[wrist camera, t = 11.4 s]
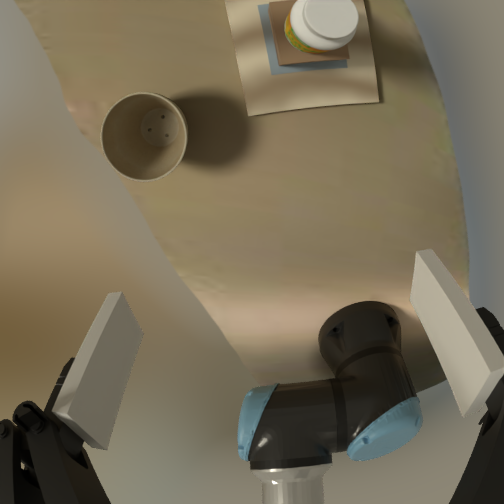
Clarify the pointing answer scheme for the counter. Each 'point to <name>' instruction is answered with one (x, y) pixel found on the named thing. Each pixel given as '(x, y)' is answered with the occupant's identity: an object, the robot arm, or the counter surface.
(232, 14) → the tan flat sheet
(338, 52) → the walnut block
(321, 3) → the supplement bottle
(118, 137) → the flower pot
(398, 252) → the counter surface
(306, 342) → the counter surface
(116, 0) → the counter surface
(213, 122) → the counter surface
